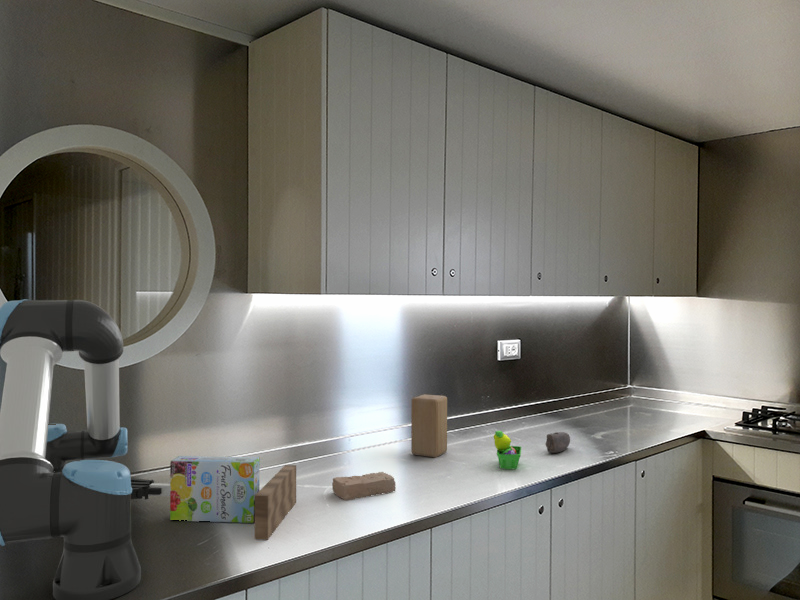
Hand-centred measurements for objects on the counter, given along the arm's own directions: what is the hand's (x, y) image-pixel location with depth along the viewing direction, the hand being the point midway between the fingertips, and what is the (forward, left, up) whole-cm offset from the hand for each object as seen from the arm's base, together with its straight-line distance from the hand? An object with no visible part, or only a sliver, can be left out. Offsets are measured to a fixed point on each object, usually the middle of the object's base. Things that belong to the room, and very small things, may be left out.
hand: (175, 490), depth 159 cm
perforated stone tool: (+76, -107, -7) cm, 132 cm away
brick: (+23, -45, -7) cm, 51 cm away
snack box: (-2, -11, -7) cm, 13 cm away
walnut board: (-1, -26, -6) cm, 27 cm away
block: (+68, -61, -7) cm, 92 cm away
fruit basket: (+55, -87, -7) cm, 103 cm away
